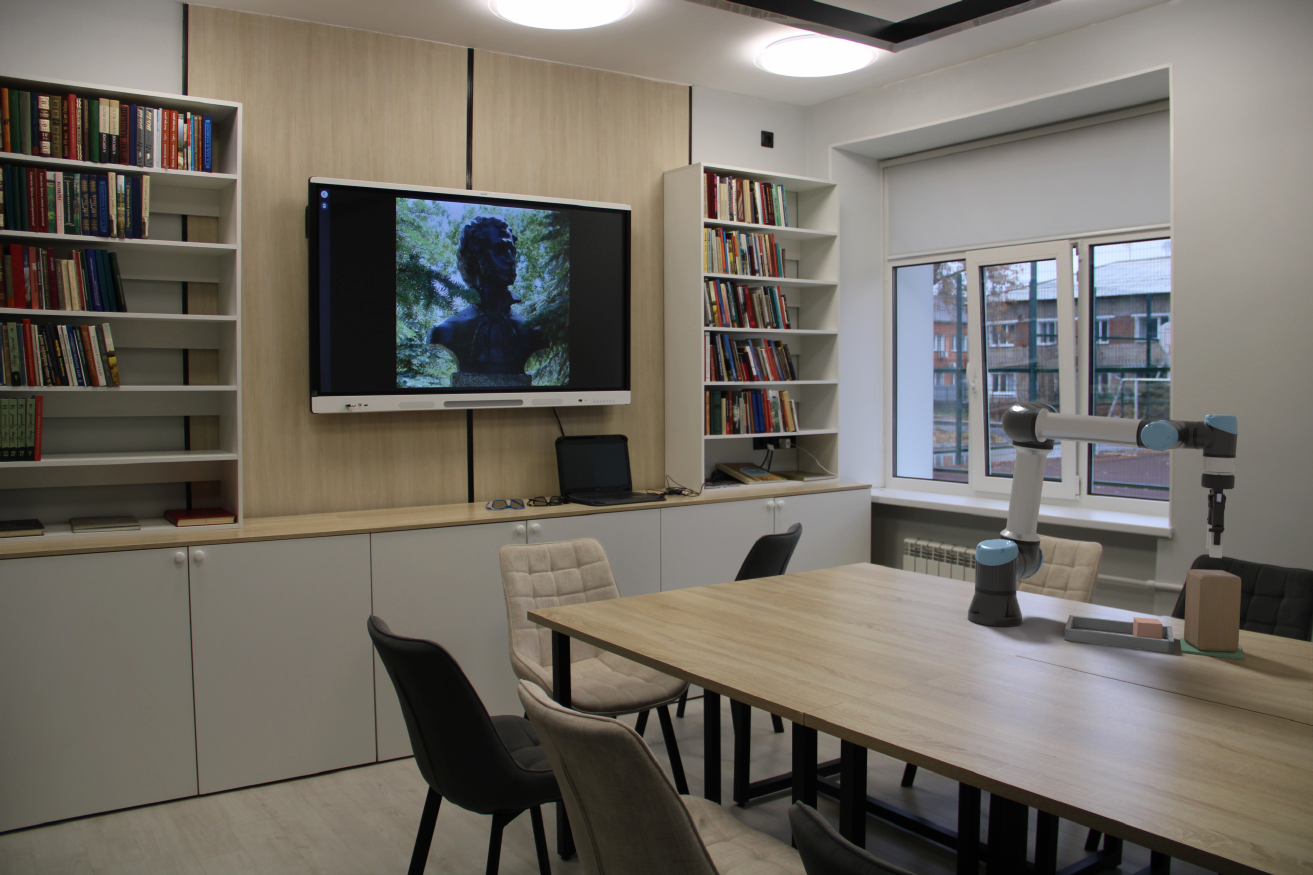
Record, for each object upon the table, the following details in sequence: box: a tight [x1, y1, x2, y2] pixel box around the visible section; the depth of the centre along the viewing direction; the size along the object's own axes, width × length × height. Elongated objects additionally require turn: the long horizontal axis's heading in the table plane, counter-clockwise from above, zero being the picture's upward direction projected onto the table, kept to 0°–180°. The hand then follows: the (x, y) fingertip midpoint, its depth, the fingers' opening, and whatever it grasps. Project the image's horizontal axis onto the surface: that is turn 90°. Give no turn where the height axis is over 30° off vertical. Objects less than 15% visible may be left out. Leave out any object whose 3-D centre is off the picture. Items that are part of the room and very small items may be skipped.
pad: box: [1179, 637, 1245, 661], centre depth 249 cm, size 14×14×1 cm
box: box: [1132, 616, 1163, 640], centre depth 255 cm, size 6×6×6 cm
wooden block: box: [1183, 568, 1242, 652], centre depth 248 cm, size 10×10×20 cm
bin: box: [1063, 614, 1175, 654], centre depth 259 cm, size 26×18×3 cm
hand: (1213, 553), depth 248 cm, fingers open, 13 cm apart
